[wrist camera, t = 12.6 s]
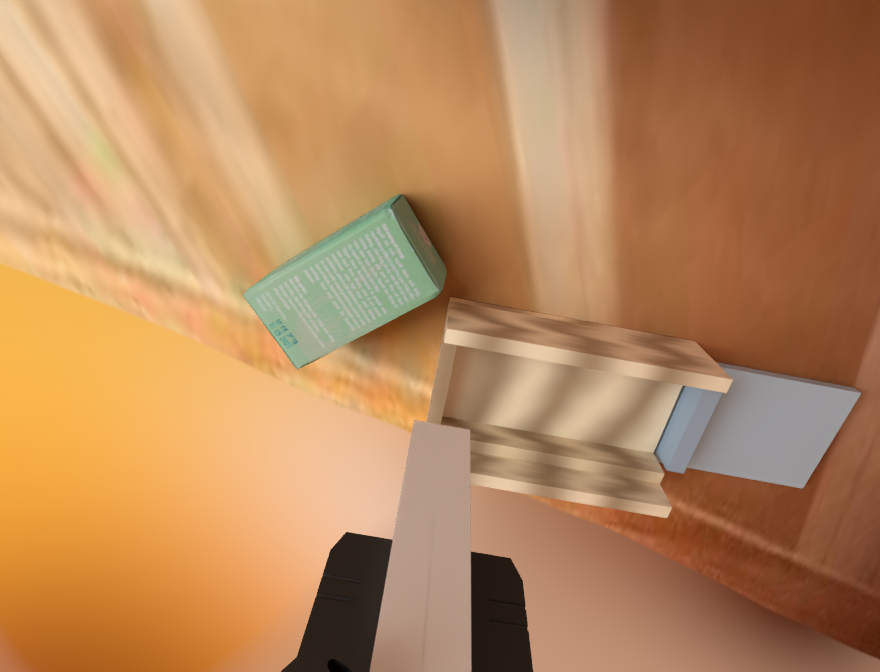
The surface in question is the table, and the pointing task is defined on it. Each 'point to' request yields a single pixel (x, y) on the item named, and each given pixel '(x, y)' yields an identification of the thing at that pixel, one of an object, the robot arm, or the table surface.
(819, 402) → the cover plate
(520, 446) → the case
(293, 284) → the box
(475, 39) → the table surface
